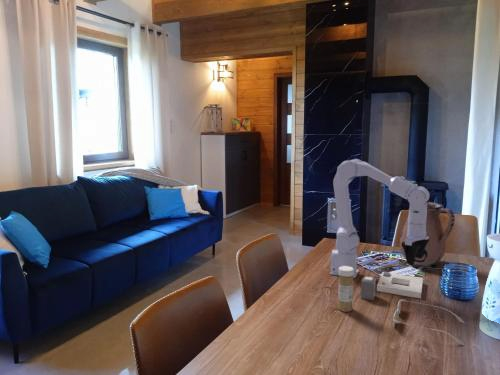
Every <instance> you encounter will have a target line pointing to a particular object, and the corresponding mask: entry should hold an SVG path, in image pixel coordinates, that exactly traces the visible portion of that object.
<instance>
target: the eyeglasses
mask: <svg viewBox="0 0 500 375" xmlns="http://www.w3.org/2000/svg"><path fill="white" fill-rule="evenodd" d="M402 302H404V303H405V302H408V303H409V302H410V303H411V301H408V300H406V299H399V300H398V302H397V303H398V304H397V309H396V310H395V311H394V313H393V317H392V322H393V323H392V325H393V327H395V326H396V324H405V325H408V326H412V327H415V325H414V324H409V323H406V322H400V321H399V320H398V319H399V317H400V316H399V315H400V314H401V308H402ZM413 304H417V302H415V301H413ZM418 304H422V305H423V303H422V302H421V303H420V302H418ZM424 305H426V306H427V305H428V304H427V303H426V304H425V303H424ZM429 306H431V307H433V305H431V304H429ZM434 307H436V308H440V309H442V310H444V311H445V310H446V311H447V312H449V313H451V315H453V316H454V317H456V319H457V321H458V322H460V323H463V324H465V321H464V320H463V319H462V318H461V317H459V316H458V315H457V314H455V313H454V312H453V311H452V310H449V309H447V308H445V307H441V306H438V305H434ZM416 327H418V328H420V326H418V325H416ZM421 328H423V329H425V327H424V326H421ZM426 329H427V330H430V328H428V327H426ZM431 330H432V331H436V332H437V331H438V332H442V333H445V334H447V335H448V336H450V337H451V338H452V339H453V340H455V341H456V343H457V344H458V345H460V346H465V343H464V342H463V341H462V340H460V339H459V338H457V337H455V336H454V335H452V334H451V333H448V332H447V331H444V330H440V329H437V328H431Z"/></svg>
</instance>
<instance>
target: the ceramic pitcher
mask: <svg viewBox="0 0 500 375" xmlns="http://www.w3.org/2000/svg"><path fill="white" fill-rule="evenodd" d="M425 203H427V219H426V236H428V237H429V239H430V240H429V242H428V243H427V245H426V247H425V250H424V253H423V256H422V258H421V259H420V258H416V257H415V262H414V264H413V266H421V267H429V266H430V267H431V266H434V265H436V264H438V263H439V262H440V261H441V260H442V259H443V258H444V256H445V253H446V248H447V246H446V244H447V243H446V240H447V238H448V237H449V235H450V234H451V231H452V230H453V228H454V226H455V221H456V220H455V214H454V213H453V211H452V210H451V209H450V208H446V207H444V205H443V204H441V203H437V202H432V201H427V202H425ZM443 212H445V213H446V214H447V215H448V217H449V218H448V219H449V221H448V224H447V226H446V229H445V231H444V228H443V224H442V220H441V216H440V214H441V213H443ZM408 216H409V214H408V215H407V217H406V220H405V222H404V224H403V227H402V230H401V233H400V237H399V242H398V245H399V246H398V247H399V251H400V253H401V255H402V257H403V258H404V259H405V260H406V255H405V251H404V249H403V247H402V242H405V239H406V237H407V232H408Z"/></svg>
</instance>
